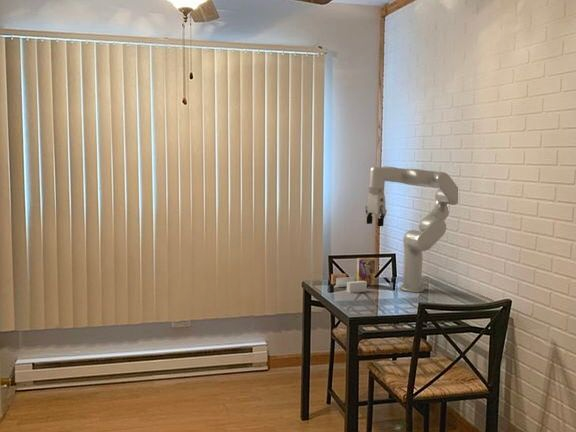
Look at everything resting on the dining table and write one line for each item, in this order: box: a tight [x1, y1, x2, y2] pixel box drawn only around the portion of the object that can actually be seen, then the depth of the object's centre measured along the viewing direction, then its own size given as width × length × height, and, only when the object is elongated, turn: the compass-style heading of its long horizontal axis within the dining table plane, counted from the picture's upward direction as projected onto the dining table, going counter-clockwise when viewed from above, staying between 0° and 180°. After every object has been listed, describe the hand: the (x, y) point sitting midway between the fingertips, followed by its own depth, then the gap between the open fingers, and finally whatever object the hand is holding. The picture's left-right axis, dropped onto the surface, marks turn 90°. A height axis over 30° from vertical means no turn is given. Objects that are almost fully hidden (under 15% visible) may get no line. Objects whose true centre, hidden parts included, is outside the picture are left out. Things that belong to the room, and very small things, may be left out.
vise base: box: [346, 280, 368, 294], centre depth 317 cm, size 14×22×6 cm, turn 25°
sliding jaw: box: [330, 273, 356, 288], centre depth 322 cm, size 10×9×5 cm
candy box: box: [356, 257, 376, 286], centre depth 325 cm, size 9×4×15 cm, turn 99°
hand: (374, 224), depth 309 cm, fingers open, 9 cm apart
